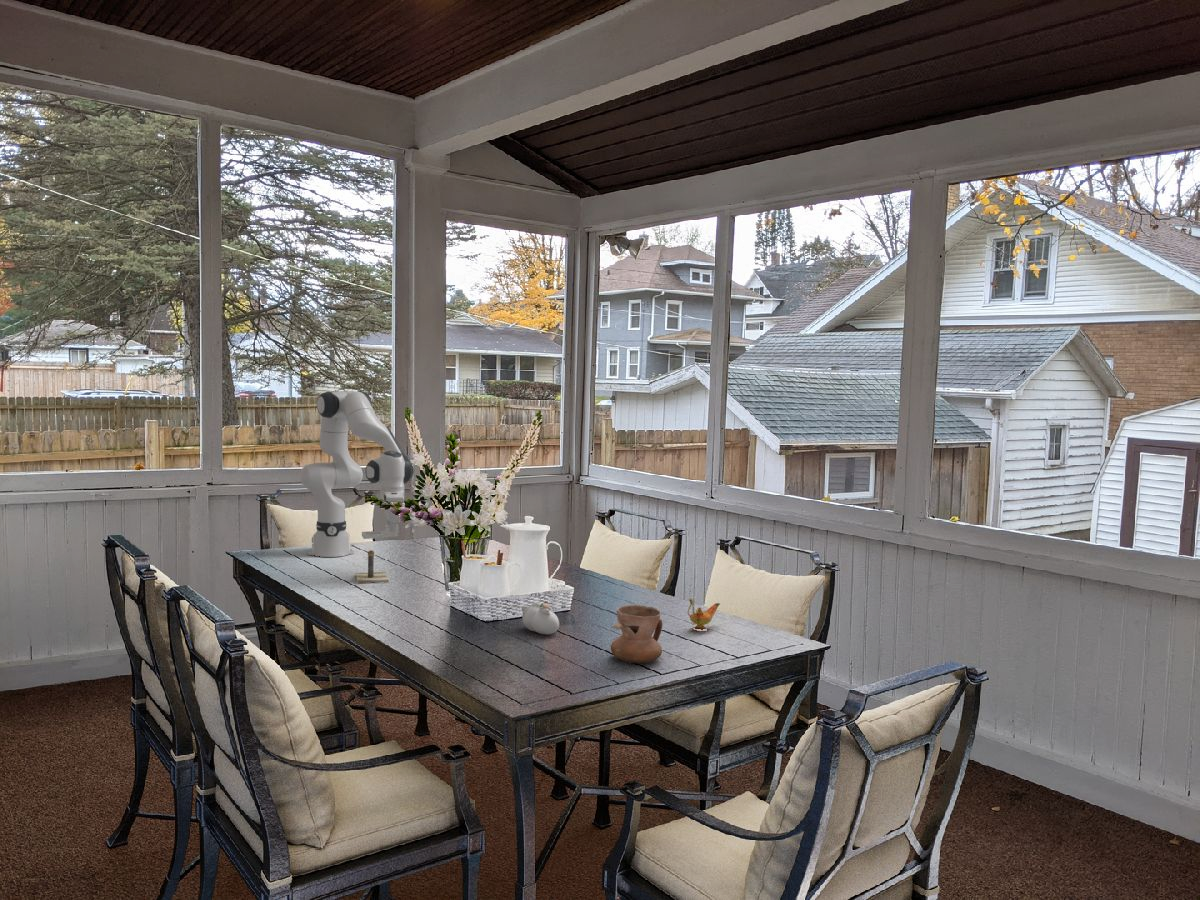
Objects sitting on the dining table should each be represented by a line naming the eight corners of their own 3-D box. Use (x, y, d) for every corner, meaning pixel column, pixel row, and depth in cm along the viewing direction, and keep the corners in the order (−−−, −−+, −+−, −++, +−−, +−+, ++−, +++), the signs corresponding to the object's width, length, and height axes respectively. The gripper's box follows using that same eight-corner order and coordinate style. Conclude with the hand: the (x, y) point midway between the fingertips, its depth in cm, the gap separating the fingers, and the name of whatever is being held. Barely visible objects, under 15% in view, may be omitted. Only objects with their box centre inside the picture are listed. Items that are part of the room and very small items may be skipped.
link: (361, 535, 337) (361, 523, 337) (396, 534, 342) (396, 522, 342) (363, 538, 330) (363, 527, 330) (399, 537, 334) (399, 526, 334)
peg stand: (355, 575, 341) (355, 546, 340) (384, 574, 344) (385, 545, 343) (357, 583, 328) (358, 553, 327) (388, 582, 332) (388, 552, 331)
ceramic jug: (630, 671, 241) (633, 620, 240) (596, 656, 252) (599, 607, 251) (677, 661, 253) (681, 612, 251) (643, 647, 264) (646, 600, 263)
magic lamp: (727, 625, 290) (729, 592, 289) (695, 636, 277) (697, 601, 276) (709, 621, 295) (711, 588, 294) (677, 631, 281) (679, 597, 280)
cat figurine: (561, 606, 270) (527, 591, 280) (543, 623, 266) (509, 608, 275) (569, 629, 275) (535, 613, 285) (551, 646, 271) (518, 630, 280)
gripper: (380, 491, 345) (380, 527, 346) (386, 498, 326) (386, 535, 327) (397, 491, 347) (397, 526, 348) (404, 497, 328) (403, 535, 329)
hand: (392, 531), depth 337 cm, fingers closed on link, 2 cm apart
